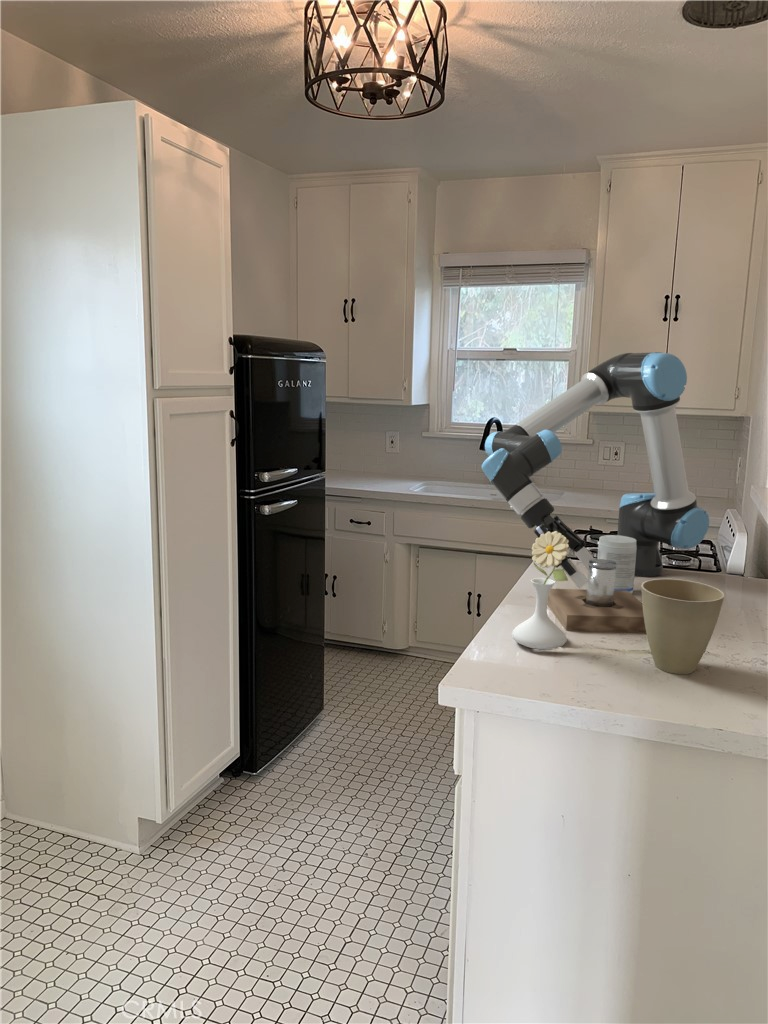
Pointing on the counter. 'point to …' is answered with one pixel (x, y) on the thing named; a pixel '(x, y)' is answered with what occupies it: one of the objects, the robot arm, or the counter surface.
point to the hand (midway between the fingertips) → (591, 578)
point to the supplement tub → (620, 559)
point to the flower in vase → (544, 595)
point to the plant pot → (679, 621)
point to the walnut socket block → (596, 612)
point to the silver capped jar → (601, 583)
